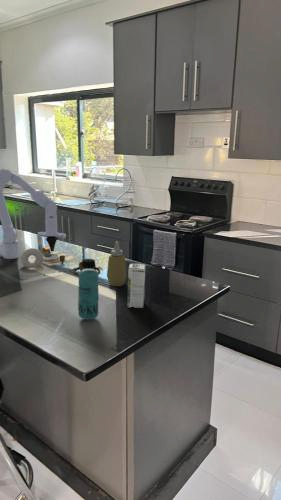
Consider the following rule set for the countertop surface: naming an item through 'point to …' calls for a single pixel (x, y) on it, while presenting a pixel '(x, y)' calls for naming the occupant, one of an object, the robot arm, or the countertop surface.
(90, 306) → the beverage bottle
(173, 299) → the countertop surface
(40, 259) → the donut
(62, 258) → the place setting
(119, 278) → the squeeze bottle
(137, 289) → the syrup box
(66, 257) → the board
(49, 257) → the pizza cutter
